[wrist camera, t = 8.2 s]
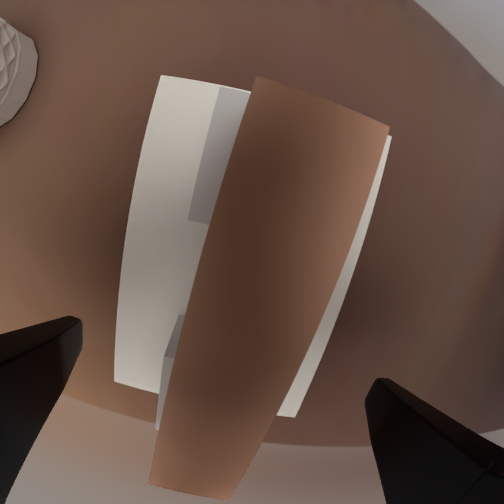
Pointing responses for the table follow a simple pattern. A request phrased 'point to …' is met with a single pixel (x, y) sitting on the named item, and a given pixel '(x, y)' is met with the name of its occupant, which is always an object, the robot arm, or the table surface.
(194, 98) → the display stand
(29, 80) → the white cup
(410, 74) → the table surface
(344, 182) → the terracotta bar
